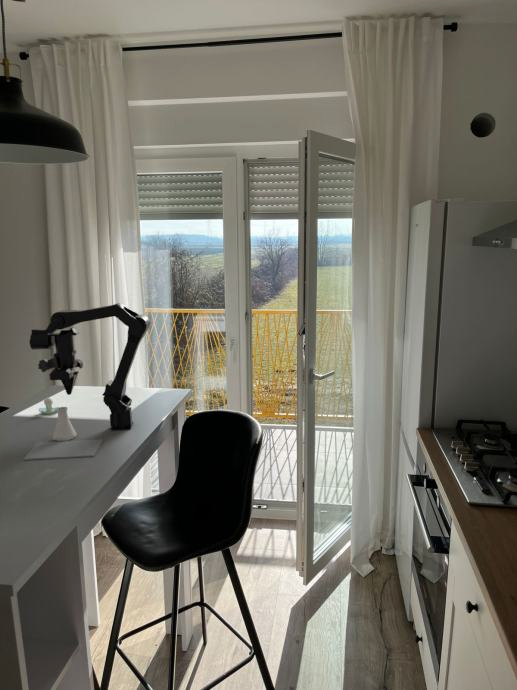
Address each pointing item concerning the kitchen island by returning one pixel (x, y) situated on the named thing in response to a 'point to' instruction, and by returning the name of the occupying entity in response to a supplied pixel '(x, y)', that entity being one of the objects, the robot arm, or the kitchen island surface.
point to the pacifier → (48, 407)
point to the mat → (64, 449)
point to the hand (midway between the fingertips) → (69, 394)
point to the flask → (63, 426)
